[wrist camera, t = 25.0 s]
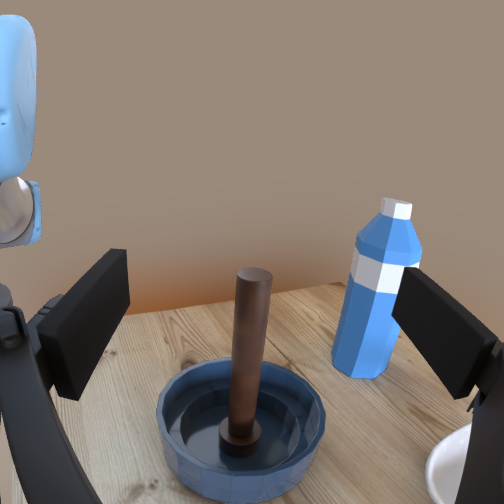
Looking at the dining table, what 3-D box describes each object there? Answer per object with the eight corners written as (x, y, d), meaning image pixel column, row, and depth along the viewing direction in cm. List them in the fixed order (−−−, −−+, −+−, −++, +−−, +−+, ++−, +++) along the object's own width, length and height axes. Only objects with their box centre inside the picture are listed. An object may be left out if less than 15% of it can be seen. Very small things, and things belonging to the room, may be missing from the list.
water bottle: (396, 372, 43) (444, 212, 35) (347, 385, 40) (392, 206, 32) (367, 340, 51) (400, 197, 43) (320, 348, 49) (349, 191, 41)
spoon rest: (462, 546, 14) (505, 515, 11) (392, 490, 23) (421, 453, 21) (532, 431, 25) (557, 395, 23) (480, 398, 35) (500, 361, 32)
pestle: (213, 452, 28) (216, 280, 22) (225, 424, 32) (234, 259, 26) (254, 461, 27) (280, 291, 21) (263, 432, 31) (288, 268, 25)
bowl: (139, 476, 24) (126, 441, 22) (194, 383, 39) (193, 345, 37) (301, 519, 21) (317, 491, 19) (317, 409, 36) (328, 371, 34)
